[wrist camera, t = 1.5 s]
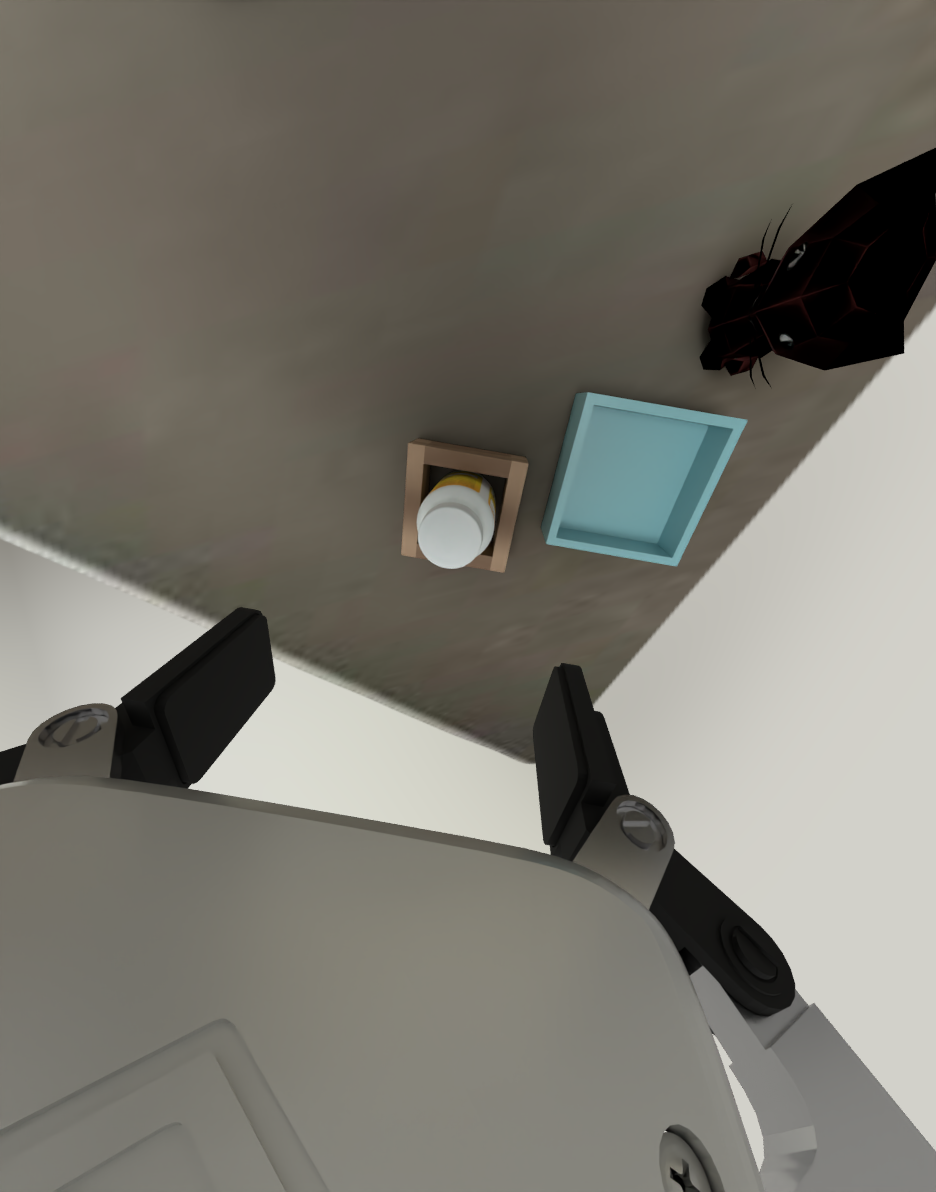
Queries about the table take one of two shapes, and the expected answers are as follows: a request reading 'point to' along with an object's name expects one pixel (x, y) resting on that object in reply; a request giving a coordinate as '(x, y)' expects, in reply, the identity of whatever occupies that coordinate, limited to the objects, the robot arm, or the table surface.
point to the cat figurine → (832, 280)
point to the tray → (635, 477)
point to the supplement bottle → (457, 519)
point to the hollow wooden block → (472, 461)
